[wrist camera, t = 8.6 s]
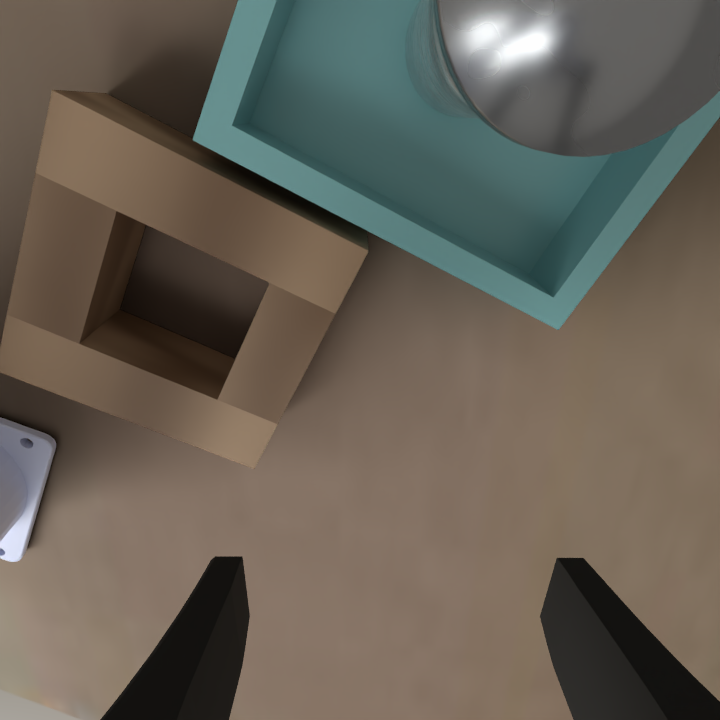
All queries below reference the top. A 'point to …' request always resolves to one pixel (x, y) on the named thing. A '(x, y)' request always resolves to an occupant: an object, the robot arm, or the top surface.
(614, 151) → the steel pin
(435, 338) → the top surface
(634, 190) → the tray
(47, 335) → the hole block
